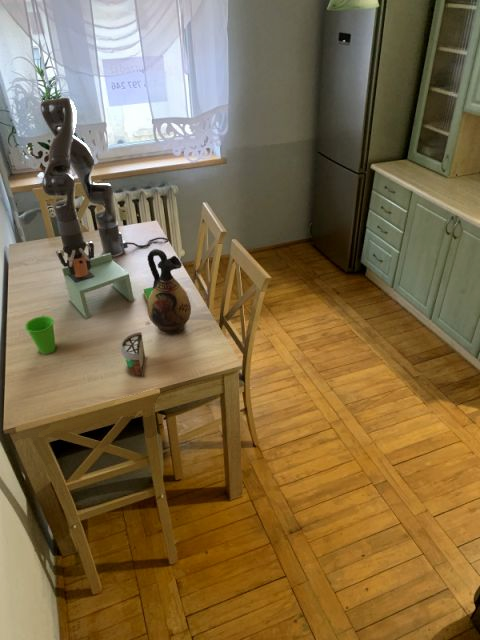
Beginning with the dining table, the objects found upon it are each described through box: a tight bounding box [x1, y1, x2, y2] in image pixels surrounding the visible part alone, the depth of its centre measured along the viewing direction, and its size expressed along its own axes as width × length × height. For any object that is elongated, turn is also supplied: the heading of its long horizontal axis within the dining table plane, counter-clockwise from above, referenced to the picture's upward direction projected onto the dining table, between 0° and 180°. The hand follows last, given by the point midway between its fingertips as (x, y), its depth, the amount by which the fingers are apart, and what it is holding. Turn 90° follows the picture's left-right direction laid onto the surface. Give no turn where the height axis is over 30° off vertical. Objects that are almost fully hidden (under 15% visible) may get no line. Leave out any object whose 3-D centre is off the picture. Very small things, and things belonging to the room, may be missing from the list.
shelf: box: [61, 253, 135, 319], centre depth 182 cm, size 20×16×15 cm
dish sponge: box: [143, 286, 153, 302], centre depth 185 cm, size 7×14×2 cm, turn 22°
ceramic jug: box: [146, 248, 192, 336], centre depth 162 cm, size 17×15×30 cm
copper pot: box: [72, 255, 89, 277], centre depth 175 cm, size 5×8×8 cm
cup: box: [24, 315, 56, 355], centre depth 158 cm, size 9×9×11 cm
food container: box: [120, 331, 146, 377], centre depth 149 cm, size 12×6×10 cm, turn 5°
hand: (80, 271), depth 177 cm, fingers closed on copper pot, 5 cm apart
